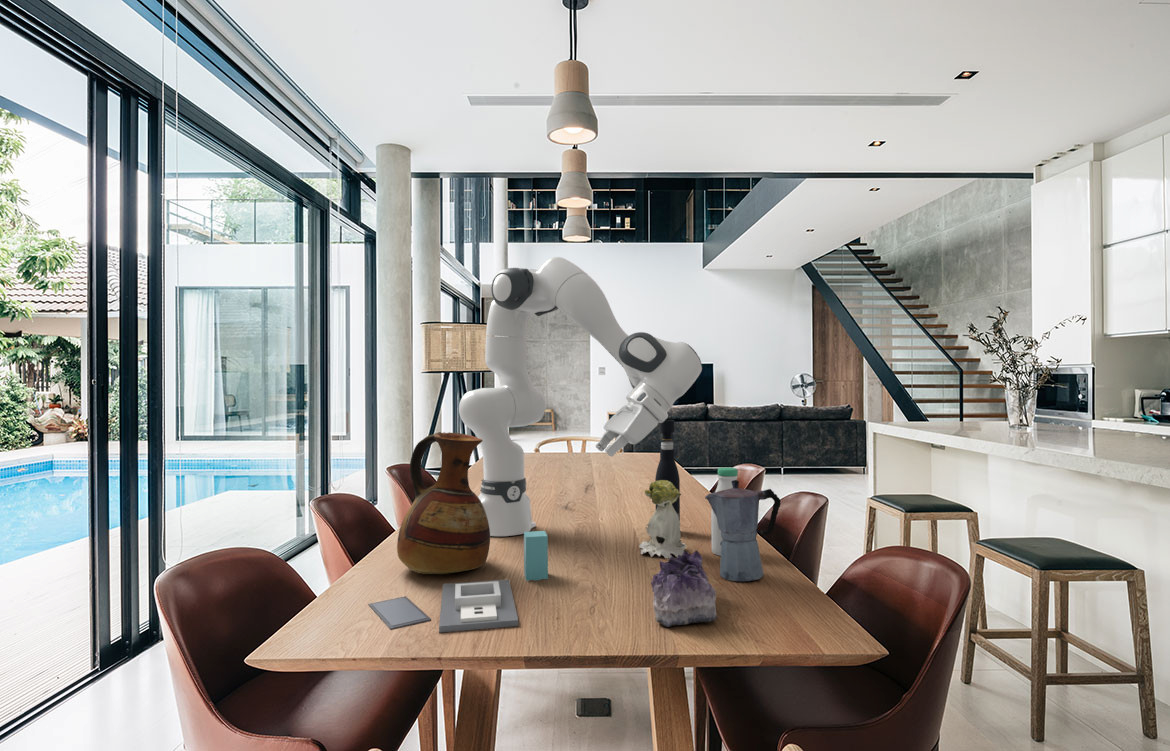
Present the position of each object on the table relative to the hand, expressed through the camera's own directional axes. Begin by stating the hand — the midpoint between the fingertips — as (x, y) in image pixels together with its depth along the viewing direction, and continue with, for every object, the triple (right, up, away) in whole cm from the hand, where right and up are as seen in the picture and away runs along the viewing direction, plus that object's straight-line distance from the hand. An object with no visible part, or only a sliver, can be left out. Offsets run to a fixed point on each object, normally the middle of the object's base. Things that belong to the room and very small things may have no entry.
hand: (602, 451), depth 137 cm
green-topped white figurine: (+14, -26, +15) cm, 33 cm away
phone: (-37, -27, -23) cm, 51 cm away
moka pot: (+29, -26, -4) cm, 39 cm away
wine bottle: (+18, -26, +33) cm, 45 cm away
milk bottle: (+30, -26, +13) cm, 41 cm away
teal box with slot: (-14, -26, -4) cm, 30 cm away
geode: (+14, -26, -23) cm, 37 cm away
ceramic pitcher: (-35, -26, +2) cm, 43 cm away
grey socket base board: (-23, -26, -20) cm, 40 cm away
